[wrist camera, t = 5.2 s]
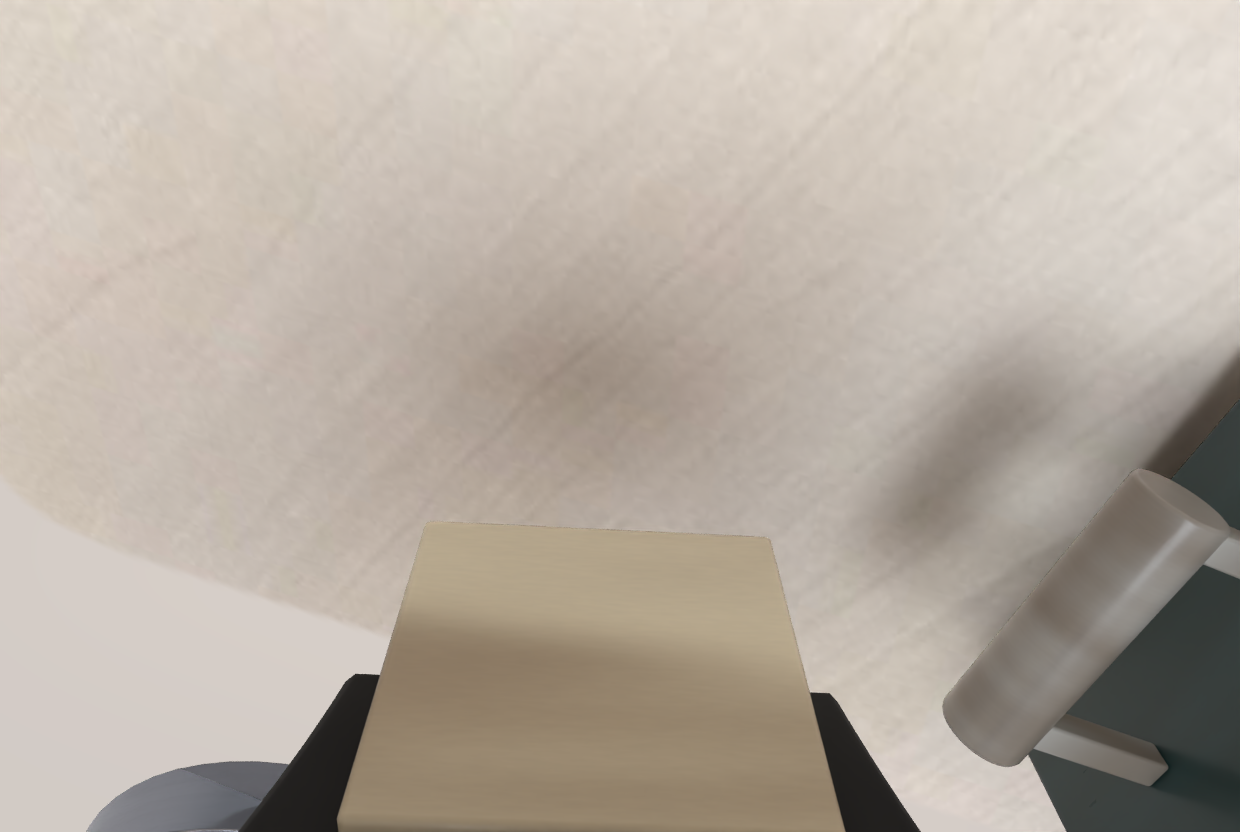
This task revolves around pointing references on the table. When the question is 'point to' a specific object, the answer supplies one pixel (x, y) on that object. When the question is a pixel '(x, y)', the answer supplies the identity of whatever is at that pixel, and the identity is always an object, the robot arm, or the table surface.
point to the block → (591, 690)
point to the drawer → (1128, 659)
